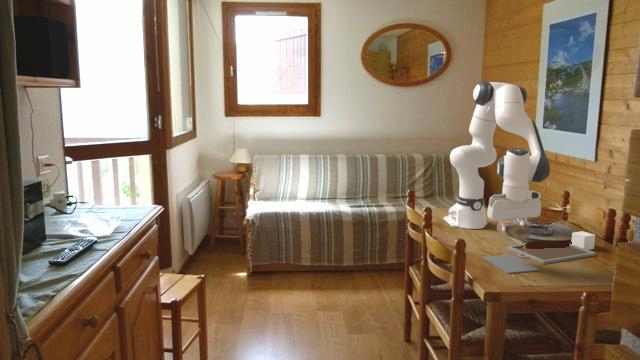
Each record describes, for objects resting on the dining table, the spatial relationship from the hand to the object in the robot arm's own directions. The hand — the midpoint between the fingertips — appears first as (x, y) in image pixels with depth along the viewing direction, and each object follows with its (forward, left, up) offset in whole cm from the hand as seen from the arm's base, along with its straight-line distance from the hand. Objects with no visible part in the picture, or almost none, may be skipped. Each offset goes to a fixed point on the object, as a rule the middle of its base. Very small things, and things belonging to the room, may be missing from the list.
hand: (512, 229), depth 179 cm
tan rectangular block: (0, 0, -2) cm, 2 cm away
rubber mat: (0, 0, -13) cm, 13 cm away
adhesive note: (-11, +41, -14) cm, 44 cm away
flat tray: (-9, +23, -14) cm, 28 cm away
